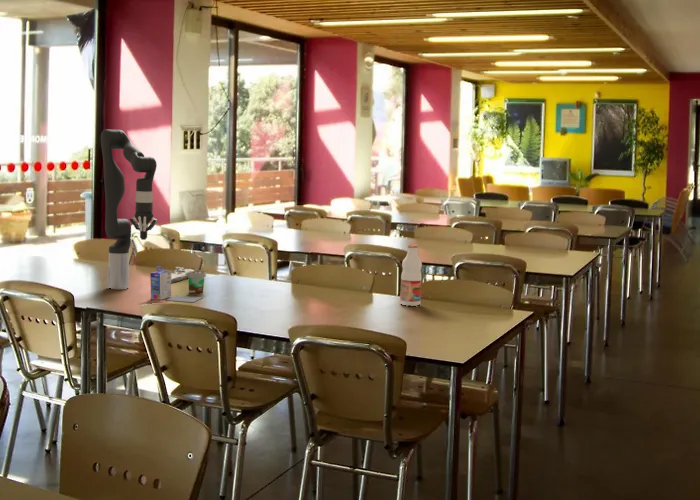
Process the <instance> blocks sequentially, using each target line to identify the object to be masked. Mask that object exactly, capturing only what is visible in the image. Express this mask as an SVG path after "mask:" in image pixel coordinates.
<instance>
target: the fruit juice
mask: <svg viewBox="0 0 700 500" xmlns="http://www.w3.org/2000/svg"><path fill="white" fill-rule="evenodd" d="M418 249H419V245H418V244H413V243H412V244H411V243H410V244H407V253H406V256H405V257H404V258H403V259H402V263H401V267H402V272H401V275H400V291H399V292H400V296H399V304H403V305H419V304H420V305H421V300H422V299H421V297H422V272H421V270H422V267H423V263H422V260H421V258H420V257H419V253H418Z"/></svg>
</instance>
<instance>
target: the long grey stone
mask: <svg viewBox="0 0 700 500" xmlns="http://www.w3.org/2000/svg"><path fill="white" fill-rule="evenodd" d="M188 273H196V271H195V269H192V268H184V267H183V266H175V267H174V269H173V271H172V272H171V284H173V283H179V282H181V281H183V280H186V279H189V278H188Z"/></svg>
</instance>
